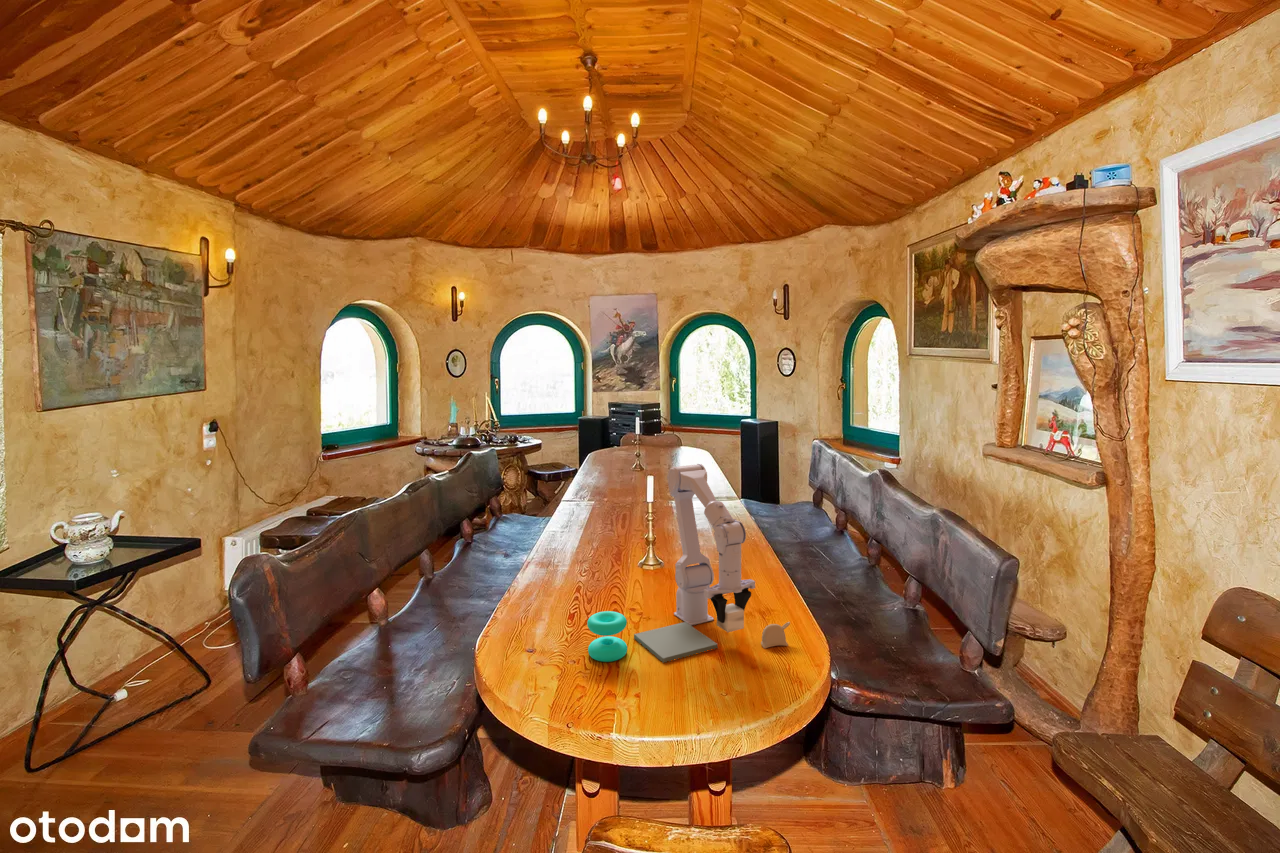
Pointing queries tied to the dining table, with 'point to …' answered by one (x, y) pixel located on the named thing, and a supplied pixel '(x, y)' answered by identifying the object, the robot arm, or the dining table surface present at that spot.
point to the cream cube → (732, 618)
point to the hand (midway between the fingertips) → (730, 619)
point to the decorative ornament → (774, 635)
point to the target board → (675, 641)
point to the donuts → (607, 636)
